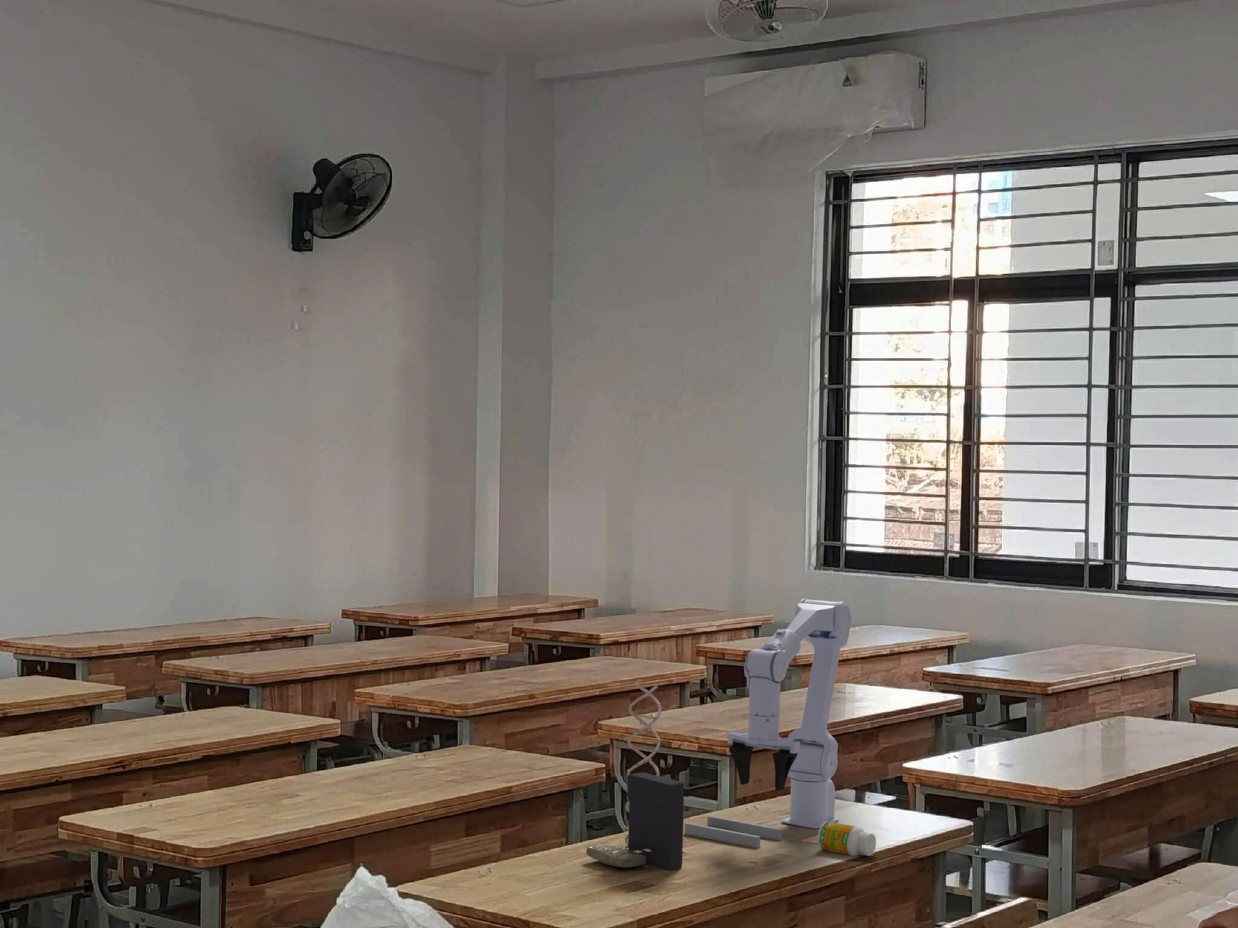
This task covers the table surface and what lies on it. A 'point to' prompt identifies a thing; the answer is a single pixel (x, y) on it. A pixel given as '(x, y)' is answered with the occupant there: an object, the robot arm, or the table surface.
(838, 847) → the supplement bottle
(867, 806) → the table surface
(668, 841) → the black upright block
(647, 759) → the dna model
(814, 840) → the tile
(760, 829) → the channel
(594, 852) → the cuneiform tablet
